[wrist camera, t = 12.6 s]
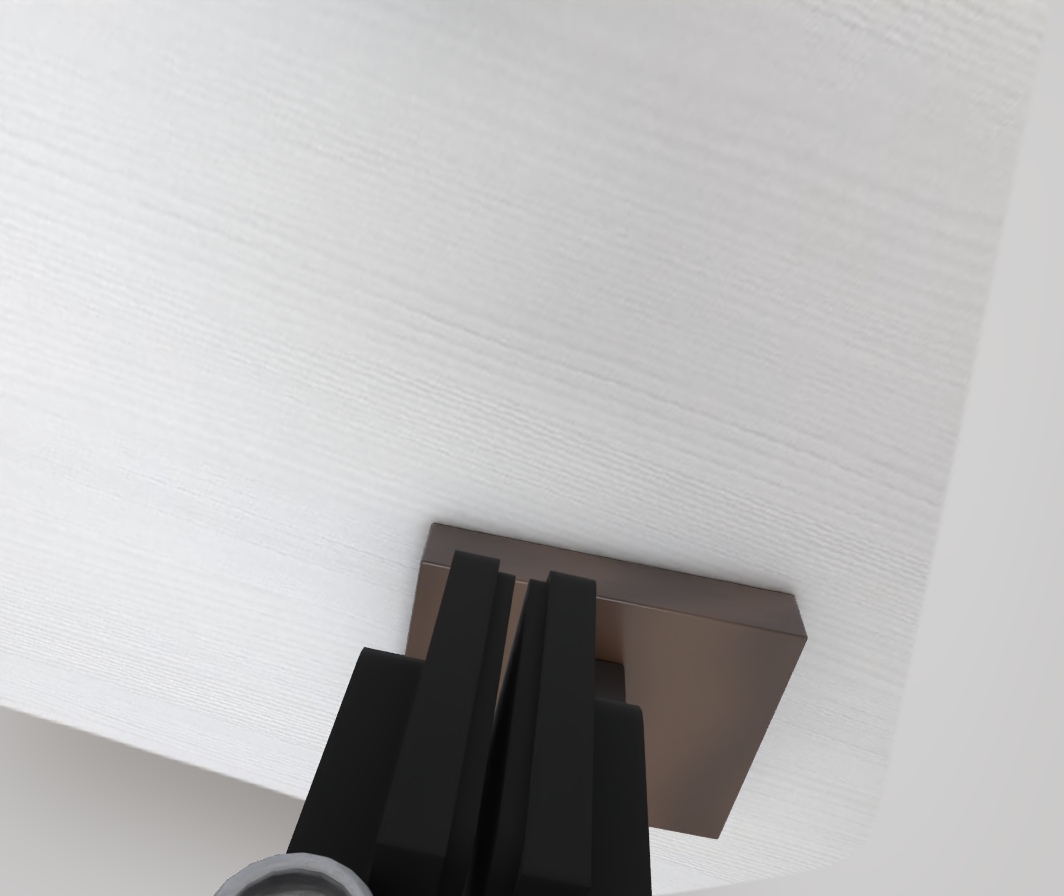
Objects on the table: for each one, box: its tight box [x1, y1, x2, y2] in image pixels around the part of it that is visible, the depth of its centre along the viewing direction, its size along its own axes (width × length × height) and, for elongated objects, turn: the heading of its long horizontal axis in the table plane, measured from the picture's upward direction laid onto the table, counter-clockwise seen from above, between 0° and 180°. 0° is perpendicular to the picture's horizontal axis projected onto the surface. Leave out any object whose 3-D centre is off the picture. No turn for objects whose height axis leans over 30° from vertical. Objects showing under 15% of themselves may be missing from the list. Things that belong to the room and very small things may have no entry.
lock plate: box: [405, 524, 808, 839], centre depth 35 cm, size 14×11×2 cm
